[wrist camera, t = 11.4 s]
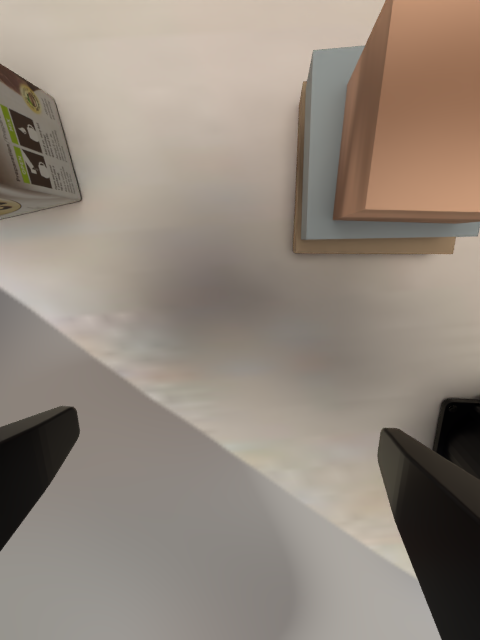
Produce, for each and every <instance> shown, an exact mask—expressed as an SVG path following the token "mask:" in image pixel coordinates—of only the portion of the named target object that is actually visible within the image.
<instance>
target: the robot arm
mask: <svg viewBox="0 0 480 640" xmlns="http://www.w3.org/2000/svg"><path fill="white" fill-rule="evenodd" d="M452 405H454V407H453V408H452V409H449V407H450V406H452ZM79 434H80V428H79V422H78V416H77V411H76V409H75V408H74V407H70V406H60V407H57V408H54V409H51V410H48V411H45V412H42V413H39V414H37V415H34V416H31V417H28V418H25V419H22V420H19V421H17V422H14V423H11V424H8V425H5V426H2V427H0V551H1V550H2V549H3V547H4V546H5V544H6V543H7V542H8V540H9V539H10V538H11V536H12V535H13V533H14V532H15V531H16V530H17V528H18V527H19V526H20V524H21V523H22V521H23V520H24V519H25V517H26V516H27V515H28V513H29V512H30V511H31V509H32V508H33V507H34V505H35V504H36V502H37V501H38V500H39V498H40V497H41V495H42V494H43V493H44V492H45V490H46V488H47V487H48V486H49V485H50V483H51V481H52V480H53V478H54V477H55V475H56V473H57V472H58V470H59V469H60V467H61V465H62V464H63V462H64V461H65V459H66V457H67V456H68V454H69V452H70V451H71V449H72V447H73V446H74V444H75V443H76V441H77V439H78V437H79ZM378 463H379V467H380V470H381V474H382V477H383V481H384V485H385V488H386V492H387V495H388V499H389V503H390V506H391V510H392V513H393V516H394V519H395V522H396V525H397V528H398V530H399V533H400V535H401V538H402V540H403V543H404V545H405V548H406V551H407V553H408V556H409V558H410V561H411V563H412V566H413V568H414V571H415V573H416V576H417V578H418V581H419V583H420V586H421V589H422V591H423V594H424V596H425V598H426V601H427V604H428V606H429V609H430V611H431V613H432V616H433V619H434V621H435V624H436V626H437V629H438V632H439V634H440V636H441V639H442V640H480V400H464V399H447V400H445V401H444V402H443V403H442V406H441V411H440V417H439V422H438V427H437V432H436V437H435V442H434V447H433V450H431V449H430V448H428V447H426V446H425V445H423V444H422V443H420V442H419V441H417V440H415V439H414V438H412V437H411V436H409V435H407V434H406V433H404V432H403V431H401V430H400V429H397V428H383V429H382V430H381V433H380V439H379V447H378Z"/></svg>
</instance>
